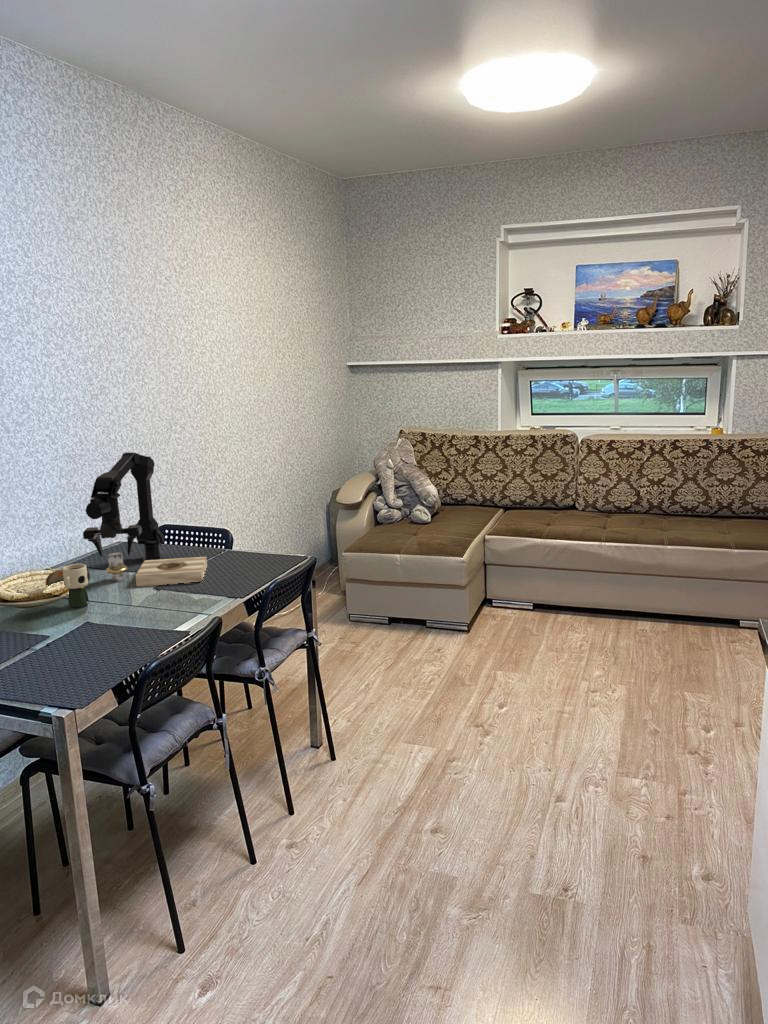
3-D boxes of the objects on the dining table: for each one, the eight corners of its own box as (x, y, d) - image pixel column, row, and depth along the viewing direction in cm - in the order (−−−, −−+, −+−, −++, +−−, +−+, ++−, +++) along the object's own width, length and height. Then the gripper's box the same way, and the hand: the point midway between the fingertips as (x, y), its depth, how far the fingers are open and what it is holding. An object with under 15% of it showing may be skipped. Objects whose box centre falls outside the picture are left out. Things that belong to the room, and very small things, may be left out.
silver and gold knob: (109, 577, 278) (106, 552, 276) (130, 576, 279) (127, 551, 277) (105, 583, 272) (102, 557, 269) (126, 582, 272) (123, 556, 270)
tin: (50, 599, 257) (47, 575, 255) (45, 597, 259) (42, 573, 257) (91, 586, 269) (88, 563, 267) (86, 585, 271) (83, 562, 269)
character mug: (81, 611, 245) (76, 572, 242) (59, 611, 246) (54, 571, 243) (97, 600, 255) (93, 561, 252) (77, 599, 256) (72, 561, 253)
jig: (145, 570, 285) (144, 560, 284) (207, 567, 287) (206, 556, 286) (136, 586, 268) (135, 575, 267) (202, 582, 270) (201, 571, 269)
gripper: (76, 519, 261) (82, 564, 265) (133, 516, 263) (138, 560, 267) (84, 511, 272) (89, 554, 275) (139, 508, 274) (144, 551, 277)
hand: (115, 555), depth 273 cm, fingers open, 9 cm apart
